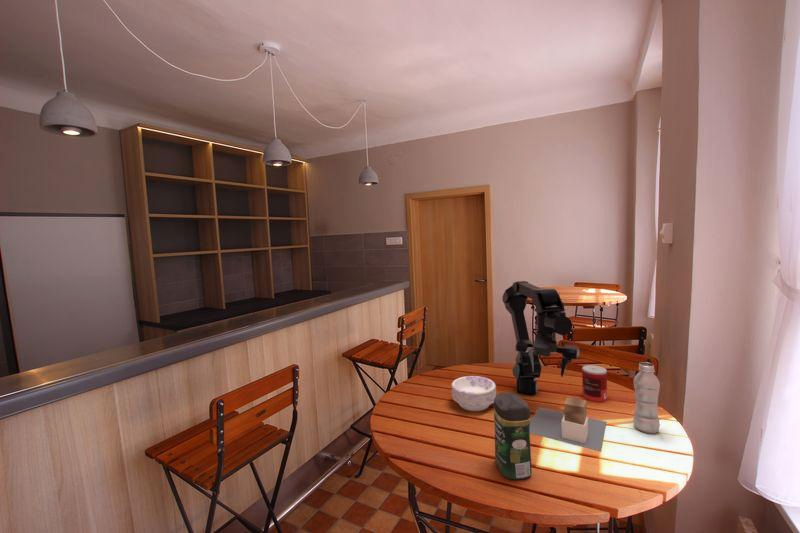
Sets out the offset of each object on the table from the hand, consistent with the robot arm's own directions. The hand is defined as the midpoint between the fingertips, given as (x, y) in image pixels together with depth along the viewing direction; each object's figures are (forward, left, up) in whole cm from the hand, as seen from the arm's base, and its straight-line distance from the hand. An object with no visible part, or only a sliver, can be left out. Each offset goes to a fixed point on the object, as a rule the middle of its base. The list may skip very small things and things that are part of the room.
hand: (546, 374), depth 117 cm
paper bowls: (-23, -7, -13) cm, 27 cm away
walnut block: (+10, -12, -7) cm, 17 cm away
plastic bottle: (+27, +2, -13) cm, 30 cm away
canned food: (+12, +18, -13) cm, 25 cm away
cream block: (+10, -12, -12) cm, 20 cm away
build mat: (+7, -8, -13) cm, 17 cm away
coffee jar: (-1, -35, -13) cm, 37 cm away
